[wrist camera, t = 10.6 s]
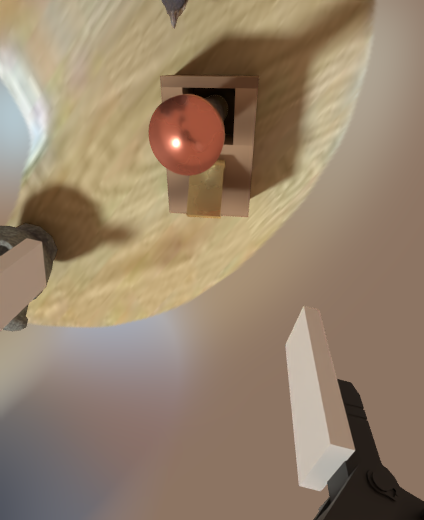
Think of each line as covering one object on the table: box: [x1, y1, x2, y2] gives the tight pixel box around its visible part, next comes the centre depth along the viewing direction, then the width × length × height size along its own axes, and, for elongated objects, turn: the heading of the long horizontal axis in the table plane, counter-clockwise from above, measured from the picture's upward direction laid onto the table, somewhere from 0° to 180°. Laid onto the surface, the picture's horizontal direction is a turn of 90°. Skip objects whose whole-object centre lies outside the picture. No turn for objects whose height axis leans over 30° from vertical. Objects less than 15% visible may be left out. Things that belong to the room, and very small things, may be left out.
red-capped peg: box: [149, 94, 228, 176], centre depth 24 cm, size 4×4×15 cm
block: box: [160, 75, 259, 217], centre depth 30 cm, size 12×8×5 cm, turn 0°
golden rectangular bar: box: [186, 160, 226, 218], centre depth 28 cm, size 5×3×1 cm
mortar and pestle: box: [0, 223, 57, 331], centre depth 37 cm, size 11×9×12 cm
